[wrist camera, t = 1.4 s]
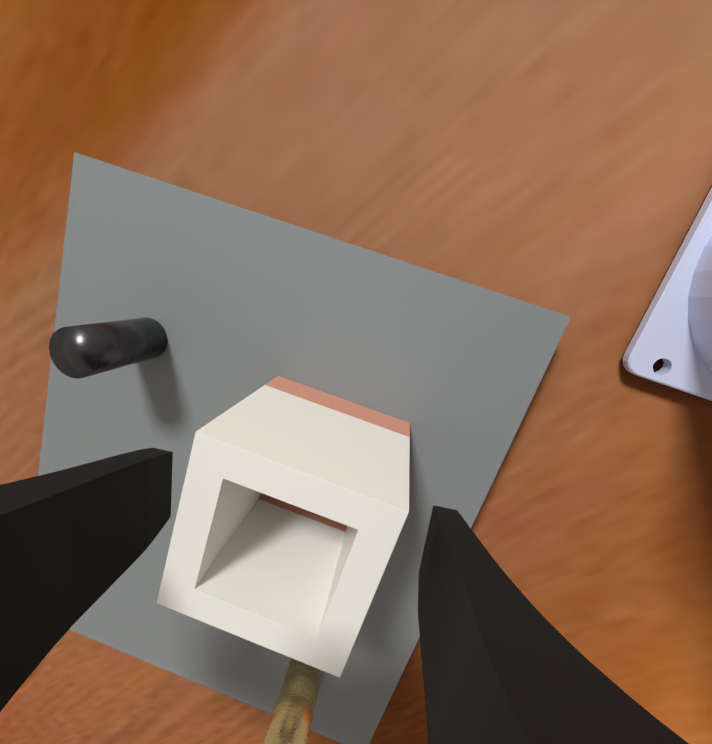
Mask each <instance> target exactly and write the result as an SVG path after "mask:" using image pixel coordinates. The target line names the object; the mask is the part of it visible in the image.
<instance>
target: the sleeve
mask: <svg viewBox="0 0 712 744" xmlns="http://www.w3.org/2000/svg"><path fill="white" fill-rule="evenodd" d="M409 452H410V423H408V422H406V421H403V420H400V419H397V418H394V417H392V416H389V415H386V414H383V413H381V412H378V411H375V410H372V409H369V408H367V407H364V406H361V405H358V404H355V403H353V402H350V401H347V400H344V399H342V398H339V397H336V396H333V395H330V394H328V393H325V392H322V391H319V390H316V389H314V388H311V387H308V386H305V385H303V384H300V383H297V382H294V381H291V380H289V379H286V378H283V377H280V376H277V377H276V378H274V379H273V380H271V381H270V382H268V383H267V384H266V385H264V386H263V387H261V388H260V389H258V390H257V391H255V392H254V393H252V394H251V395H249V396H248V397H246V398H245V399H243V400H242V401H240V402H239V403H237V404H236V405H234V406H233V407H231V408H230V409H228V410H227V411H226V412H224V413H223V414H221V415H220V416H218V417H217V418H215V419H214V420H212V421H211V422H209V423H208V424H206V425H205V426H203V427H202V428H200V429H199V430H197V431H196V432H195V437H194V441H193V446H192V450H191V454H190V459H189V463H188V467H187V472H186V476H185V481H184V485H183V489H182V494H181V498H180V502H179V507H178V511H177V515H176V520H175V524H174V529H173V533H172V537H171V542H170V546H169V550H168V555H167V559H166V564H165V568H164V572H163V577H162V581H161V585H160V590H159V594H158V599H157V603H158V604H160V605H162V606H165V607H167V608H170V609H172V610H175V611H177V612H180V613H182V614H185V615H187V616H190V617H192V618H194V619H197V620H199V621H202V622H204V623H207V624H209V625H212V626H214V627H217V628H219V629H221V630H224V631H226V632H229V633H231V634H234V635H236V636H239V637H241V638H244V639H246V640H248V641H251V642H253V643H256V644H258V645H261V646H263V647H266V648H268V649H271V650H273V651H275V652H278V653H280V654H283V655H285V656H288V657H290V658H293V659H295V660H298V661H300V662H303V663H305V664H307V665H310V666H312V667H315V668H317V669H320V670H322V671H325V672H327V673H330V674H332V675H334V676H337V677H339V678H340V676H341V674H342V671H343V669H344V666H345V664H346V662H347V659H348V657H349V654H350V652H351V650H352V647H353V645H354V642H355V640H356V638H357V635H358V633H359V630H360V628H361V626H362V623H363V621H364V618H365V616H366V614H367V611H368V609H369V606H370V604H371V602H372V599H373V597H374V594H375V592H376V590H377V587H378V585H379V582H380V580H381V578H382V575H383V573H384V570H385V568H386V566H387V563H388V561H389V558H390V556H391V554H392V551H393V549H394V546H395V544H396V542H397V539H398V537H399V534H400V532H401V530H402V527H403V525H404V522H405V520H406V518H407V515H408V513H409Z"/></svg>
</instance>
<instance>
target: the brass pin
mask: <svg viewBox="0 0 712 744" xmlns="http://www.w3.org/2000/svg"><path fill="white" fill-rule="evenodd" d="M322 675H323V671H322V670H320V669H317V668H315V667H312V666H310V665H307V664H305V663H303V662H300V661H298V660H295V659H293V658H292V659H291V661H290V663H289V666H288V669H287V672H286V675H285V678H284V681H283V685H282V688H281V691H280V694H279V697H278V700H277V703H276V706H275V709H274V712H273V716H272V719H271V722H270V725H269V728H268V731H267V734H266V737H265V740H264V743H263V744H307V741H308V736H309V732H310V728H311V723H312V719H313V714H314V710H315V706H316V701H317V697H318V692H319V688H320V684H321V679H322Z"/></svg>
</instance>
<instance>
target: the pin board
mask: <svg viewBox="0 0 712 744" xmlns="http://www.w3.org/2000/svg"><path fill="white" fill-rule="evenodd" d="M136 318H152V319H154V320H156V321H158V322H159V323H160V324H161V325H162V326H163V328H164V329H165V331H166V334H167V339H168V343H167V347H166V350H165V351H164V353H163V354H162V355H160V356H159V357H156V358H153V359H149V360H145V361H142V362H138V363H135V364H131V365H127V366H124V367H120V368H117V369H113V370H110V371H106V372H102V373H99V374H95V375H92V376H88V377H84V378H80V379H76V378H71V377H68V376H66V375H65V374H63V373H62V372H61V371H60V370H58V368H57V367H56V366H55V364H54V363H53V361H52V359H51V365H50V374H49V383H48V392H47V401H46V410H45V419H44V428H43V437H42V445H41V454H40V463H39V472H38V476H40V475H44V474H48V473H52V472H56V471H60V470H64V469H68V468H72V467H75V466H79V465H83V464H86V463H90V462H94V461H98V460H101V459H105V458H109V457H112V456H116V455H120V454H124V453H128V452H132V451H137V450H141V449H147V448H157V449H162V450H166V451H171V452H173V463H172V494H171V517H170V518H169V520H168V521H167V523H166V524H165V525H164V527H163V528H162V529H161V531H160V532H159V534H158V535H157V536H156V537H155V539H154V540H153V541H152V543H151V544H150V545H149V546H148V548H147V549H146V550H145V551H144V552H143V553H142V554H141V555H140V556H139V558H138V559H137V560H136V561H135V562H134V563H133V564H132V565H131V566H130V567H129V568H128V569H127V570H126V571H125V572H124V573H123V574H122V575H121V576H120V577H119V578H118V579H117V580H116V581H115V582H114V583H113V584H112V585H111V586H110V588H109V589H108V590H107V591H106V592H105V593H104V594H103V595H102V596H101V597H100V598H99V599H98V600H97V601H96V602H95V603H94V604H93V605H92V606H91V607H90V608H89V609H88V610H87V611H86V612H85V613H84V614H83V615H82V616H81V617H80V618H79V619H78V620H77V621H76V622H75V623H74V624H73V625H72V627H71V628H70V629H69V630H71V631H74V632H76V633H78V634H81V635H83V636H86V637H88V638H90V639H93V640H95V641H98V642H100V643H102V644H105V645H107V646H110V647H112V648H114V649H117V650H119V651H122V652H124V653H126V654H129V655H131V656H133V657H136V658H138V659H141V660H143V661H145V662H148V663H150V664H153V665H155V666H157V667H160V668H162V669H165V670H167V671H169V672H172V673H174V674H177V675H179V676H181V677H184V678H186V679H188V680H191V681H193V682H196V683H198V684H200V685H203V686H205V687H208V688H210V689H212V690H215V691H217V692H220V693H222V694H224V695H227V696H229V697H231V698H234V699H236V700H239V701H241V702H243V703H246V704H248V705H251V706H253V707H255V708H258V709H260V710H263V711H265V712H267V713H270V714H272V715H273V712H274V709H275V706H276V703H277V700H278V697H279V694H280V691H281V688H282V685H283V681H284V678H285V675H286V672H287V669H288V666H289V663H290V661H291V659H292V658H290V657H288V656H285V655H283V654H280V653H278V652H275V651H273V650H271V649H268V648H266V647H263V646H261V645H258V644H256V643H253V642H251V641H248V640H246V639H244V638H241V637H239V636H236V635H234V634H231V633H229V632H226V631H224V630H221V629H219V628H217V627H214V626H212V625H209V624H207V623H204V622H202V621H199V620H197V619H194V618H192V617H190V616H187V615H185V614H182V613H180V612H177V611H175V610H172V609H170V608H167V607H165V606H162V605H160V604H158V603H157V599H158V594H159V590H160V585H161V581H162V577H163V572H164V568H165V564H166V559H167V555H168V550H169V546H170V542H171V537H172V533H173V529H174V524H175V520H176V515H177V511H178V507H179V502H180V498H181V494H182V489H183V485H184V481H185V476H186V472H187V467H188V463H189V459H190V454H191V450H192V446H193V441H194V437H195V432H196V431H197V430H199V429H200V428H202V427H203V426H205V425H206V424H208V423H209V422H211V421H212V420H214V419H215V418H217V417H218V416H220V415H221V414H223V413H224V412H226V411H227V410H228V409H230V408H231V407H233V406H234V405H236V404H237V403H239V402H240V401H242V400H243V399H245V398H246V397H248V396H249V395H251V394H252V393H254V392H255V391H257V390H258V389H260V388H261V387H263V386H264V385H266V384H267V383H268V382H270V381H271V380H273V379H274V378H276V377H277V376H280V377H283V378H286V379H289V380H291V381H294V382H297V383H300V384H303V385H305V386H308V387H311V388H314V389H316V390H319V391H322V392H325V393H328V394H330V395H333V396H336V397H339V398H342V399H344V400H347V401H350V402H353V403H355V404H358V405H361V406H364V407H367V408H369V409H372V410H375V411H378V412H381V413H383V414H386V415H389V416H392V417H394V418H397V419H400V420H403V421H406V422H408V423H410V452H409V513H408V515H407V518H406V520H405V522H404V525H403V527H402V530H401V532H400V534H399V537H398V539H397V542H396V544H395V546H394V549H393V551H392V554H391V556H390V558H389V561H388V563H387V566H386V568H385V570H384V573H383V575H382V578H381V580H380V582H379V585H378V587H377V590H376V592H375V594H374V597H373V599H372V602H371V604H370V606H369V609H368V611H367V614H366V616H365V618H364V621H363V623H362V626H361V628H360V630H359V633H358V635H357V638H356V640H355V642H354V645H353V647H352V650H351V652H350V654H349V657H348V659H347V662H346V664H345V666H344V669H343V671H342V674H341V676H340V678H339V677H337V676H334V675H332V674H330V673H327V672H325V671H323V675H322V679H321V684H320V688H319V692H318V697H317V701H316V706H315V710H314V714H313V719H312V723H311V728H310V731H313V732H315V733H318V734H320V735H322V736H325V737H327V738H330V739H332V740H334V741H337V742H339V743H341V744H369V743H370V741H371V739H372V736H373V734H374V732H375V730H376V728H377V726H378V724H379V722H380V720H381V717H382V715H383V713H384V711H385V709H386V707H387V705H388V703H389V700H390V698H391V696H392V694H393V692H394V690H395V688H396V686H397V684H398V681H399V679H400V677H401V675H402V673H403V671H404V669H405V667H406V665H407V662H408V660H409V658H410V656H411V654H412V652H413V650H414V648H415V646H416V643H417V641H418V639H419V637H420V633H419V621H418V580H419V569H420V564H421V559H422V555H423V550H424V546H425V541H426V536H427V532H428V527H429V523H430V518H431V514H432V509H433V505H435V506H440V507H445V508H449V509H454V510H458V512H459V513H460V514H461V516H462V517H463V518H464V520H465V521H466V523H467V524H468V525H469V527H470V528H471V527H472V525H473V523H474V521H475V519H476V517H477V515H478V512H479V510H480V508H481V506H482V504H483V502H484V500H485V498H486V495H487V493H488V491H489V489H490V487H491V485H492V483H493V481H494V479H495V476H496V474H497V472H498V470H499V468H500V466H501V464H502V462H503V460H504V457H505V455H506V453H507V451H508V449H509V447H510V445H511V443H512V441H513V438H514V436H515V434H516V432H517V430H518V428H519V426H520V424H521V422H522V419H523V417H524V415H525V413H526V411H527V409H528V407H529V405H530V403H531V400H532V398H533V396H534V394H535V392H536V390H537V388H538V386H539V383H540V381H541V379H542V377H543V375H544V373H545V371H546V369H547V367H548V364H549V362H550V360H551V358H552V356H553V354H554V352H555V350H556V348H557V345H558V343H559V341H560V339H561V337H562V335H563V333H564V331H565V329H566V326H567V324H568V322H569V320H570V318H571V317H570V316H567V315H564V314H561V313H558V312H555V311H552V310H549V309H546V308H543V307H540V306H537V305H534V304H531V303H528V302H525V301H522V300H519V299H516V298H513V297H510V296H506V295H503V294H500V293H497V292H494V291H491V290H488V289H485V288H482V287H479V286H476V285H473V284H470V283H467V282H464V281H461V280H458V279H455V278H452V277H449V276H446V275H443V274H440V273H437V272H434V271H431V270H428V269H425V268H422V267H419V266H416V265H413V264H410V263H407V262H404V261H401V260H398V259H395V258H392V257H389V256H386V255H383V254H380V253H377V252H374V251H371V250H368V249H365V248H362V247H359V246H356V245H353V244H350V243H347V242H344V241H341V240H338V239H335V238H332V237H329V236H326V235H323V234H320V233H317V232H314V231H311V230H308V229H304V228H301V227H298V226H295V225H292V224H289V223H286V222H283V221H280V220H277V219H274V218H271V217H268V216H265V215H262V214H259V213H256V212H253V211H250V210H247V209H244V208H241V207H238V206H235V205H232V204H229V203H226V202H223V201H220V200H217V199H214V198H211V197H208V196H205V195H202V194H199V193H196V192H193V191H190V190H187V189H184V188H181V187H178V186H175V185H172V184H169V183H166V182H163V181H160V180H157V179H154V178H151V177H148V176H145V175H142V174H139V173H136V172H133V171H130V170H127V169H124V168H121V167H118V166H115V165H112V164H109V163H106V162H102V161H99V160H96V159H93V158H90V157H87V156H84V155H81V154H78V153H75V152H74V161H73V170H72V179H71V188H70V196H69V205H68V214H67V223H66V232H65V241H64V250H63V259H62V268H61V277H60V285H59V294H58V303H57V312H56V321H55V330H54V332H55V331H57V330H58V329H60V328H62V327H68V326H76V325H85V324H93V323H102V322H111V321H119V320H128V319H136Z"/></svg>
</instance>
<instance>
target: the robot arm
mask: <svg viewBox="0 0 712 744" xmlns="http://www.w3.org/2000/svg"><path fill="white" fill-rule="evenodd" d="M661 358H662V360H663V362H664V363H663V367H662V368H661V369H660V370H659V371H657V372H654V371H653V364H654V363H655V362H656V361H657V360H659V359H661ZM623 366H624V367H625V369H626V370H627V371H628V372H630V373H632V374H634V375H637V376H640V377H643V378H646V379H648V380H651V381H654V382H657V383H660V384H663V385H666V386H669V387H672V388H675V389H678V390H681V391H684V392H687V393H690V394H693V395H696V396H699V397H702V398H705V399H708V400H711V401H712V188H711V189H710V191H709V193H708V195H707V197H706V199H705V201H704V203H703V205H702V207H701V209H700V210H699V212H698V214H697V216H696V218H695V220H694V222H693V224H692V226H691V228H690V230H689V231H688V233H687V235H686V237H685V239H684V241H683V243H682V245H681V247H680V249H679V250H678V252H677V254H676V256H675V258H674V260H673V262H672V264H671V266H670V268H669V270H668V271H667V273H666V275H665V277H664V279H663V281H662V283H661V285H660V287H659V289H658V291H657V292H656V294H655V296H654V298H653V300H652V302H651V304H650V306H649V308H648V310H647V312H646V313H645V315H644V317H643V319H642V321H641V323H640V325H639V327H638V329H637V331H636V333H635V334H634V336H633V338H632V340H631V342H630V344H629V346H628V348H627V350H626V352H625V354H624V356H623ZM172 463H173V452H171V451H166V450H162V449H157V448H147V449H141V450H137V451H132V452H128V453H124V454H120V455H116V456H112V457H109V458H105V459H101V460H98V461H94V462H90V463H86V464H83V465H79V466H75V467H72V468H68V469H64V470H60V471H56V472H52V473H48V474H44V475H40V476H36V477H32V478H28V479H24V480H20V481H16V482H11V483H7V484H2V485H0V711H1V710H2V709H3V708H4V706H5V705H6V704H7V703H8V701H9V700H10V699H11V697H12V696H13V695H14V694H15V692H16V691H17V690H18V689H19V687H20V686H21V685H22V684H23V683H24V681H25V680H26V679H27V678H28V677H29V675H30V674H31V673H32V672H33V671H34V669H35V668H36V667H37V666H38V665H39V663H40V662H41V661H42V660H43V659H44V657H45V656H46V655H47V654H48V652H49V651H50V650H51V649H52V648H53V646H54V645H55V644H56V643H57V642H58V641H59V640H60V639H61V638H62V636H63V635H64V634H65V633H66V632H67V631H68V630H69V629H70V628H71V627H72V625H73V624H74V623H75V622H76V621H77V620H78V619H79V618H80V617H81V616H82V615H83V614H84V613H85V612H86V611H87V610H88V609H89V608H90V607H91V606H92V605H93V604H94V603H95V602H96V601H97V600H98V599H99V598H100V597H101V596H102V595H103V594H104V593H105V592H106V591H107V590H108V589H109V588H110V586H111V585H112V584H113V583H114V582H115V581H116V580H117V579H118V578H119V577H120V576H121V575H122V574H123V573H124V572H125V571H126V570H127V569H128V568H129V567H130V566H131V565H132V564H133V563H134V562H135V561H136V560H137V559H138V558H139V556H140V555H141V554H142V553H143V552H144V551H145V550H146V549H147V548H148V546H149V545H150V544H151V543H152V541H153V540H154V539H155V537H156V536H157V535H158V534H159V532H160V531H161V529H162V528H163V527H164V525H165V524H166V523H167V521H168V520H169V518H170V517H171V494H172ZM418 621H419V633H420V645H421V657H422V668H423V679H424V690H425V702H426V713H427V729H428V744H688V743H687V742H686V741H684V740H683V739H682V738H681V737H679V736H678V735H677V734H675V733H674V732H673V731H672V730H670V729H669V728H668V727H666V726H665V725H664V724H663V723H661V722H660V721H659V720H658V719H656V718H655V717H654V716H653V715H651V714H650V713H649V712H648V711H647V710H645V709H644V708H643V707H642V706H640V705H639V704H638V703H637V702H636V701H634V700H633V699H632V698H631V697H630V696H628V695H627V694H626V693H625V692H624V691H623V690H621V689H620V688H619V687H618V686H617V685H616V684H615V683H613V682H612V681H611V680H610V679H609V678H608V677H607V676H605V675H604V674H603V673H602V672H601V671H600V670H599V669H597V668H596V667H595V666H594V665H593V664H592V663H591V662H590V661H588V660H587V659H586V658H585V657H584V656H583V655H582V654H581V653H580V652H579V651H578V650H577V649H575V648H574V647H573V646H572V645H571V644H570V643H569V642H568V641H567V640H566V639H565V638H564V637H563V636H562V635H561V634H560V633H559V632H558V631H557V630H556V629H555V628H554V627H553V626H552V625H551V624H550V623H549V622H548V621H547V620H546V619H545V618H544V617H543V616H542V615H541V614H540V613H539V611H538V610H537V609H536V608H535V607H534V606H533V605H532V604H531V603H530V602H529V601H528V599H527V598H526V597H525V596H524V595H523V594H522V593H521V591H520V590H519V589H518V588H517V587H516V586H515V585H514V583H513V582H512V581H511V580H510V579H509V578H508V576H507V575H506V574H505V573H504V572H503V570H502V569H501V568H500V567H499V565H498V564H497V563H496V562H495V560H494V559H493V558H492V556H491V555H490V554H489V553H488V551H487V550H486V549H485V547H484V546H483V545H482V543H481V542H480V541H479V539H478V538H477V536H476V535H475V534H474V532H473V531H472V530H471V528H470V527H469V525H468V524H467V523H466V521H465V520H464V518H463V517H462V516H461V514H460V513H459V512H458V510H454V509H449V508H445V507H440V506H435V505H433V509H432V514H431V518H430V523H429V527H428V532H427V536H426V541H425V546H424V550H423V555H422V559H421V564H420V569H419V580H418Z"/></svg>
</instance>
